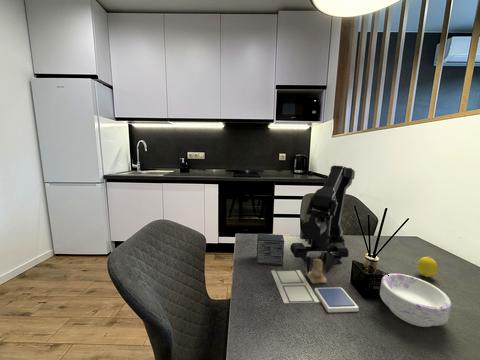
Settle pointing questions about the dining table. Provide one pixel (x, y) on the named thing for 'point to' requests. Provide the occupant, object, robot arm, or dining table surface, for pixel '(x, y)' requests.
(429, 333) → the dining table surface
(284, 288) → the print sheet
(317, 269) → the stamp
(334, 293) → the ink pad
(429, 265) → the lemon
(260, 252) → the small box
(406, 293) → the paper bowls
